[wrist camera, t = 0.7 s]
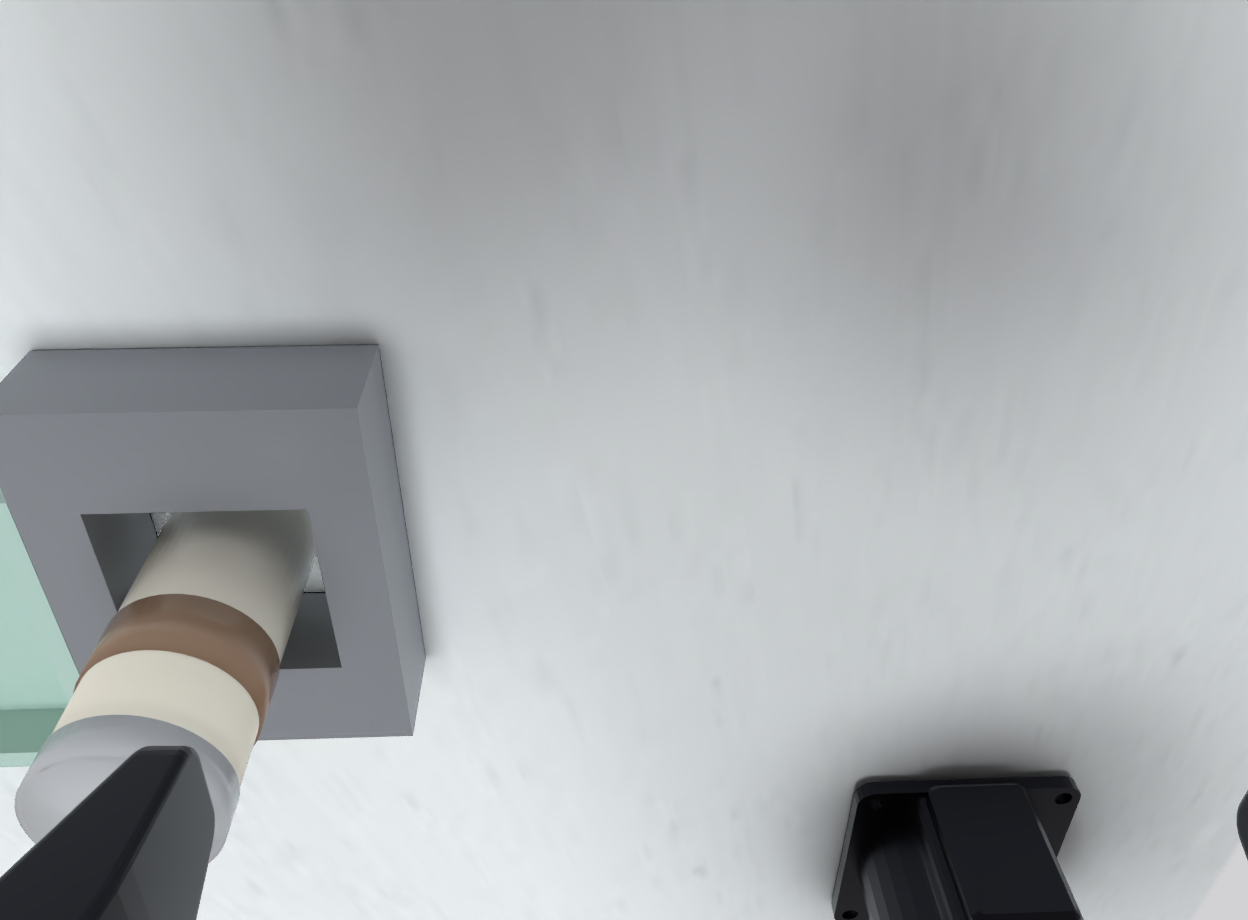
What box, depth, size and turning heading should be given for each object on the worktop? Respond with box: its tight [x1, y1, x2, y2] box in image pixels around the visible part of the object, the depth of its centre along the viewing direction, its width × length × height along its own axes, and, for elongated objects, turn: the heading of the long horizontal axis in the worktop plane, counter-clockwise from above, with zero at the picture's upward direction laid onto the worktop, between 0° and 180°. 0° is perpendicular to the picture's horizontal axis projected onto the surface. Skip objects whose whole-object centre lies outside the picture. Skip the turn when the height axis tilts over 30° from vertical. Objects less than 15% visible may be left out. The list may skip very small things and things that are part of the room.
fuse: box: [15, 509, 317, 863], centre depth 20 cm, size 3×3×8 cm
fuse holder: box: [0, 345, 426, 740], centre depth 22 cm, size 9×7×2 cm
